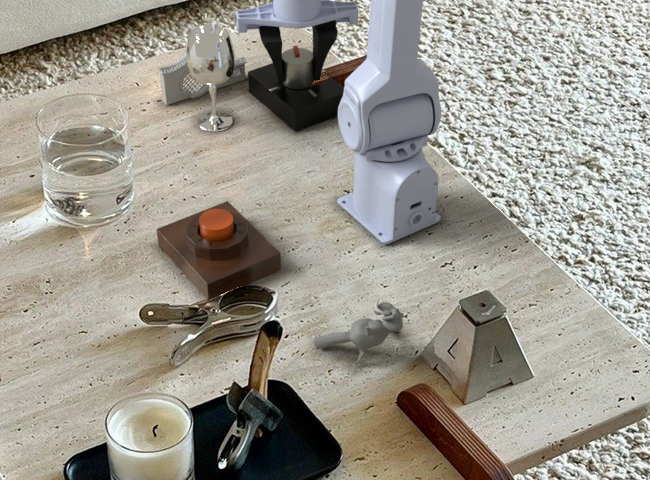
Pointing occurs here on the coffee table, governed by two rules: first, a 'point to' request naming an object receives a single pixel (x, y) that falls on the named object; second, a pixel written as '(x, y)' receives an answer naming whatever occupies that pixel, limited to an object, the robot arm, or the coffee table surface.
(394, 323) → the grey bird figurine
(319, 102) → the dial panel
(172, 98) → the lattice window wall
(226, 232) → the button
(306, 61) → the dial
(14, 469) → the coffee table surface
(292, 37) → the coffee table surface
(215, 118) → the wineglass
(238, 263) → the button block
